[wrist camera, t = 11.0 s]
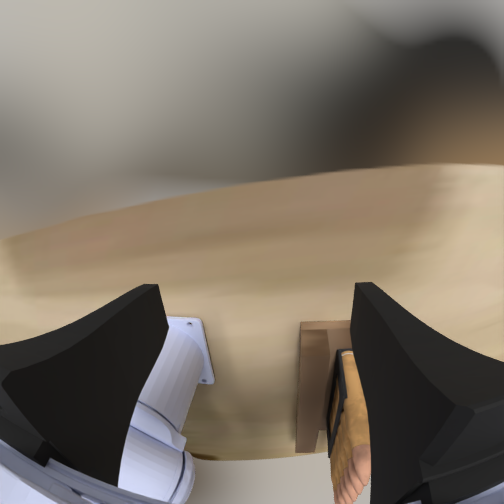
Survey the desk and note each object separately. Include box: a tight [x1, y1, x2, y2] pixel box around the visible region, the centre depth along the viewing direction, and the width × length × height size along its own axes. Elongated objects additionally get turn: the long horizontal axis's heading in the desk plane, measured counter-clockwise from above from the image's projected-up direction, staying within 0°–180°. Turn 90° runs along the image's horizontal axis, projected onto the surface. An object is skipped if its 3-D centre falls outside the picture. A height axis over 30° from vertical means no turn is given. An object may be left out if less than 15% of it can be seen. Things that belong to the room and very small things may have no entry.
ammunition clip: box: [326, 348, 371, 504], centre depth 19 cm, size 11×2×12 cm, turn 5°
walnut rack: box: [295, 320, 352, 453], centre depth 24 cm, size 8×15×4 cm, turn 4°
